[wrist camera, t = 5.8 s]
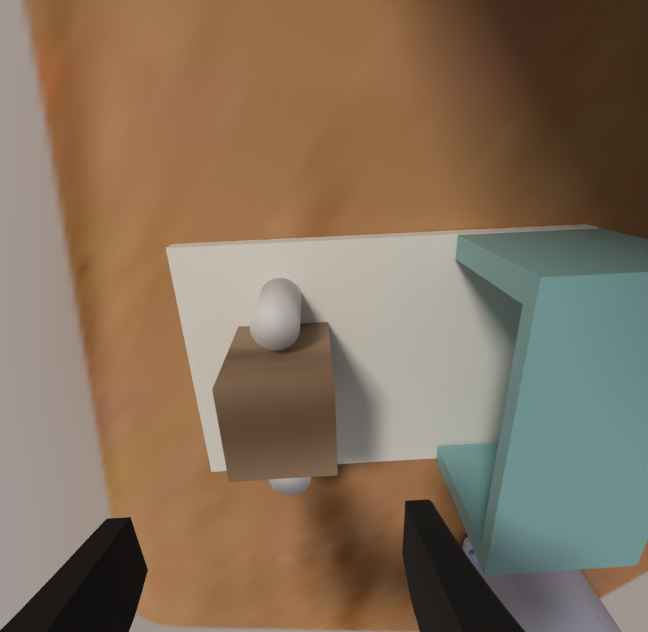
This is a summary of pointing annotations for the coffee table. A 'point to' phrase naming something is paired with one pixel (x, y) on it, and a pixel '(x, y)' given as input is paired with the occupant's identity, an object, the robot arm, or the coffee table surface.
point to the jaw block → (278, 407)
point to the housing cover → (562, 406)
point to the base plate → (360, 333)
